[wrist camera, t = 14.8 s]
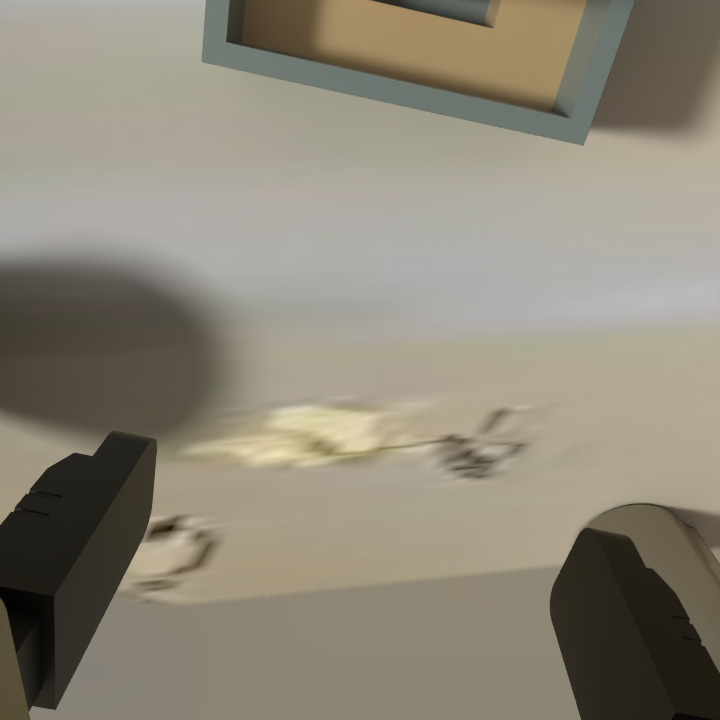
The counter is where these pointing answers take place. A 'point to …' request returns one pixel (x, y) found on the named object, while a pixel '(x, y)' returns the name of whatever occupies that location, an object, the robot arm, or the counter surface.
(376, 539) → the counter surface
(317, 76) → the bin
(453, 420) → the counter surface
